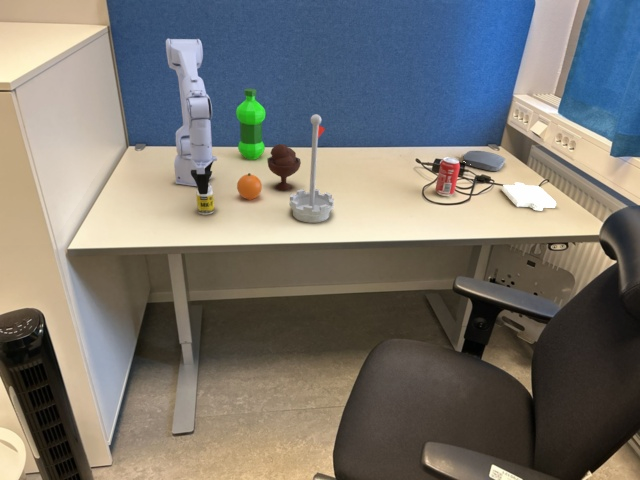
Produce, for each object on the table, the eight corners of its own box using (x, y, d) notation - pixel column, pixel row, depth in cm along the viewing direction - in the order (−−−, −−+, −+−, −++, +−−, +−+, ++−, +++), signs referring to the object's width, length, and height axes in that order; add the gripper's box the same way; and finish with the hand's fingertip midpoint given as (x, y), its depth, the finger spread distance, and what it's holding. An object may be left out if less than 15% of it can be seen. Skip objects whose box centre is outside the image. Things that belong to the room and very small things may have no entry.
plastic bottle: (232, 155, 179) (229, 88, 166) (255, 150, 185) (254, 85, 172) (247, 164, 172) (246, 94, 160) (270, 158, 179) (270, 91, 166)
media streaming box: (496, 173, 178) (498, 166, 177) (459, 164, 185) (461, 157, 183) (505, 162, 189) (507, 155, 188) (470, 154, 196) (471, 147, 194)
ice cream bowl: (295, 196, 151) (297, 151, 143) (262, 191, 153) (262, 147, 145) (303, 183, 160) (305, 140, 152) (272, 179, 162) (272, 136, 154)
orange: (234, 200, 145) (233, 176, 141) (242, 191, 152) (241, 167, 148) (257, 204, 144) (257, 180, 140) (264, 194, 151) (264, 170, 147)
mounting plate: (499, 187, 167) (500, 182, 166) (534, 188, 168) (535, 183, 167) (519, 210, 152) (521, 204, 151) (558, 211, 152) (560, 206, 151)
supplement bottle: (200, 216, 136) (197, 189, 131) (195, 209, 139) (193, 183, 135) (216, 213, 138) (214, 187, 133) (211, 206, 141) (210, 180, 137)
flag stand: (317, 228, 133) (324, 124, 118) (280, 215, 139) (282, 114, 124) (340, 212, 143) (349, 114, 128) (304, 200, 148) (309, 105, 133)
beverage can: (455, 192, 161) (462, 159, 155) (451, 198, 156) (459, 165, 150) (437, 188, 163) (443, 155, 157) (432, 194, 158) (439, 161, 152)
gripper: (214, 151, 122) (217, 198, 129) (217, 134, 134) (219, 178, 141) (186, 151, 121) (191, 199, 128) (191, 133, 133) (195, 178, 140)
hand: (204, 188), depth 135 cm, fingers open, 7 cm apart
